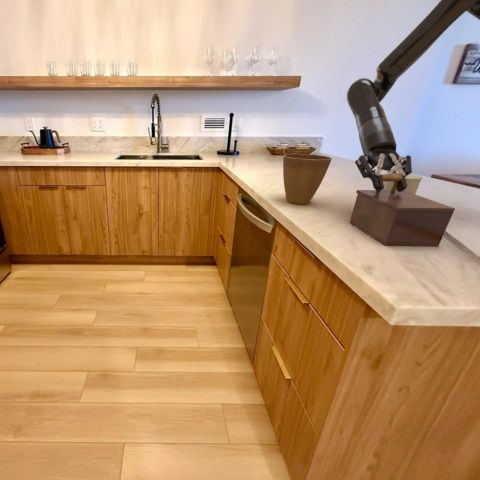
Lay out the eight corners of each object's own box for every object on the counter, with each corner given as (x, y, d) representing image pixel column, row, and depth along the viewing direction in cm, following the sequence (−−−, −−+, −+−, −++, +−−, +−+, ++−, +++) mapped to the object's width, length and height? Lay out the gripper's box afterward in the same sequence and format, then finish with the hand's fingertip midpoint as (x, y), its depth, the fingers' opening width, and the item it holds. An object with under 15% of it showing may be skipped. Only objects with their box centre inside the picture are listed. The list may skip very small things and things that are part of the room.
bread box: (349, 222, 84) (357, 193, 80) (393, 223, 83) (403, 193, 80) (385, 245, 70) (397, 211, 66) (438, 246, 69) (453, 211, 66)
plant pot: (323, 209, 95) (335, 160, 88) (276, 205, 100) (284, 158, 93) (318, 198, 108) (328, 154, 101) (276, 194, 112) (283, 152, 106)
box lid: (356, 192, 81) (361, 172, 79) (401, 192, 81) (408, 172, 78) (397, 211, 66) (405, 187, 64) (453, 211, 66) (464, 187, 63)
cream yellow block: (374, 204, 100) (385, 169, 95) (407, 209, 95) (421, 173, 90) (373, 211, 93) (385, 174, 88) (409, 217, 88) (424, 178, 83)
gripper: (358, 129, 79) (373, 182, 73) (412, 129, 78) (431, 182, 72) (343, 147, 86) (355, 196, 80) (392, 147, 85) (408, 197, 79)
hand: (391, 189), depth 76 cm, fingers closed on box lid, 5 cm apart
